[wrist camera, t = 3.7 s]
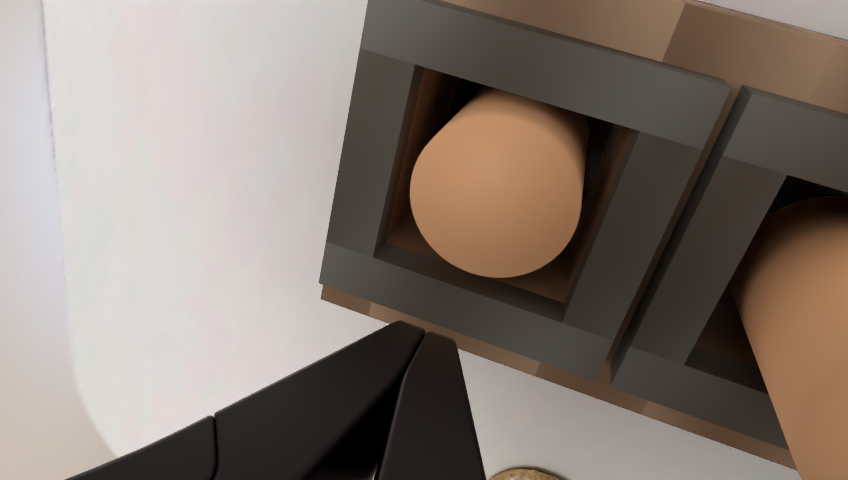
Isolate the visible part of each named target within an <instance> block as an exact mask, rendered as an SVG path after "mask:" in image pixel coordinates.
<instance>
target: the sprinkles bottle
mask: <svg viewBox="0 0 848 480" xmlns="http://www.w3.org/2000/svg"><path fill="white" fill-rule="evenodd" d="M490 480H559V479H557V478H556V477H554V476H551V475H548V474H545V473H541V472H538V471H536V470H526V469H514V470H508V471H505V472H502V473H500V474H498V475H497V476H494V477H492V478H491V479H490Z"/></svg>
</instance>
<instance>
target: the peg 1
mask: <svg viewBox="0 0 848 480" xmlns="http://www.w3.org/2000/svg"><path fill="white" fill-rule="evenodd" d="M587 147H588V122H587V118H586V115H584V114H581V113H577V112H574V111H571V110H567V109H564V108H561V107H557V106H554V105H550V104H547V103H544V102H540V101H537V100H534V99H530V98H527V97H523V96H520V95H517V94H513V93H510V92H507V91H503V90H500V89H496V88H493V87H490V86H486V85H485V86H484V87H483V88H482V89H480V90H479V91H478V92H477V93H476V94H475V95H474V96H473V97H472V99H471V100H470V101H469V102H468V103H467V104H466V105H465V106H464V107H463V108H462V109H461V110H460V111H459V112H458V113H457V114H456V115H455V116H454V117H453V118H452V119H451V120H450V121H449V122H448V123H447V124H446V125H445V126H444V127H443V128H442V129H441V130H440V131H439V132H438V133H437V134H436V135H435V136H434V137H433V138H432V139H431V141H430V142H429V143H428V144H427V145H426V146H425V148H424V149H423V151H422V152H421V154H420V155H419V157H418V159H417V162H416V164H415V166H414V170H413V173H412V177H411V183H410V201H411V208H412V212H413V216H414V219H415V221H416V224H417V226H418V228H419V230H420V232H421V234H422V235H423V237H424V238H425V240H426V241H427V243H428V244H429V245H430V246H431V247H432V248H433V249H434V251H436V252H437V253H438V254H439V255H440V256H441V257H442V258H444V259H445V260H446V261H448V262H449V263H451V264H452V265H454V266H456V267H458V268H460V269H462V270H464V271H467V272H469V273H473V274H476V275H480V276H485V277H494V278H505V277H515V276H520V275H524V274H527V273H530V272H533V271H535V270H537V269H539V268H541V267H543V266H544V265H546V264H547V263H549V262H550V261H552V260H553V259H554V258H555V257H556V256H558V255H559V254H560V253H561V251H562V250H563V249H564V248H565V247H566V245H567V244H568V242H569V241H570V239H571V238H572V236H573V234H574V232H575V230H576V227H577V224H578V221H579V217H580V211H581V203H582V194H583V184H584V175H585V165H586V156H587Z"/></svg>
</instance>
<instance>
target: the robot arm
mask: <svg viewBox="0 0 848 480" xmlns="http://www.w3.org/2000/svg"><path fill="white" fill-rule="evenodd" d="M374 475H375V476H374ZM373 477H374V480H486V475H485V471H484V466H483V462H482V457H481V453H480V448H479V444H478V439H477V435H476V430H475V426H474V421H473V417H472V412H471V408H470V403H469V399H468V394H467V390H466V385H465V381H464V376H463V372H462V367H461V363H460V358H459V354H458V349H457V345H456V342H455V340H454V339H453V338H451V337H448V336H445V335H442V334H439V333H437V332H434V331H428V332H427V333H426V332H425V329H424V328H422V327H420V326H417V325H414V324H411V323H409V322H406V321H403V320H398V321H395V322H393V323H391V324H389V325H387V326H385V327H383V328H381V329H379V330H377V331H375V332H373V333H371V334H370V335H368V336H366V337H364V338H362V339H360V340H358V341H356V342H354V343H352V344H350V345H348V346H346V347H344V348H342V349H340V350H338V351H336V352H334V353H332V354H330V355H328V356H326V357H324V358H322V359H320V360H318V361H316V362H314V363H312V364H310V365H308V366H306V367H304V368H302V369H300V370H298V371H296V372H294V373H293V374H291V375H289V376H287V377H285V378H283V379H281V380H279V381H277V382H275V383H273V384H271V385H269V386H267V387H265V388H263V389H261V390H259V391H257V392H255V393H253V394H251V395H249V396H247V397H245V398H243V399H241V400H239V401H237V402H235V403H233V404H231V405H229V406H227V407H225V408H223V409H221V410H219V411H217V412H216V413H215V414H214V417H213V416H207V417H205V418H203V419H201V420H199V421H197V422H195V423H193V424H191V425H189V426H187V427H185V428H183V429H181V430H179V431H177V432H175V433H173V434H171V435H169V436H166V437H164V438H162V439H160V440H158V441H156V442H154V443H152V444H150V445H147V446H145V447H143V448H141V449H139V450H136V451H134V452H131V453H129V454H127V455H124V456H122V457H119V458H117V459H115V460H112V461H110V462H107V463H105V464H103V465H100V466H98V467H95V468H93V469H91V470H88V471H85V472H83V473H80V474H78V475H75V476H73V477H70V478H68V479H65V480H372V479H373Z"/></svg>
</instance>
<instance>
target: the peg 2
mask: <svg viewBox="0 0 848 480" xmlns="http://www.w3.org/2000/svg"><path fill="white" fill-rule="evenodd" d="M730 289H731V293H732V296H733V299H734V301H735V304H736V307H737V310H738V312H739V315H740V318H741V320H742V323H743V326H744V328H745V331H746V334H747V336H748V339H749V342H750V344H751V347H752V350H753V353H754V355H755V358H756V361H757V363H758V366H759V369H760V371H761V374H762V377H763V379H764V382H765V385H766V387H767V390H768V393H769V396H770V398H771V401H772V404H773V406H774V409H775V412H776V414H777V417H778V420H779V422H780V425H781V428H782V430H783V433H784V436H785V439H786V441H787V444H788V447H789V449H790V452H791V455H792V457H793V460H794V463H795V465H796V468H797V470H798V473H799V475H800V477H801V478H802V480H848V197H838V196H827V197H818V198H811V199H807V200H802V201H799V202H796V203H793V204H789V205H787V206H785V207H783V208H780V209H778V210H776V211H775V212H773V213H771V214H770V215H768V216H766V217H765V218H764V219H763V220H762V222H761V224H760V226H759V228H758V230H757V231H756V233H755V235H754V237H753V239H752V241H751V242H750V244H749V246H748V248H747V250H746V252H745V253H744V255H743V257H742V259H741V261H740V263H739V264H738V266H737V268H736V270H735V272H734V274H733V275H732V277H731V279H730Z"/></svg>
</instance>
